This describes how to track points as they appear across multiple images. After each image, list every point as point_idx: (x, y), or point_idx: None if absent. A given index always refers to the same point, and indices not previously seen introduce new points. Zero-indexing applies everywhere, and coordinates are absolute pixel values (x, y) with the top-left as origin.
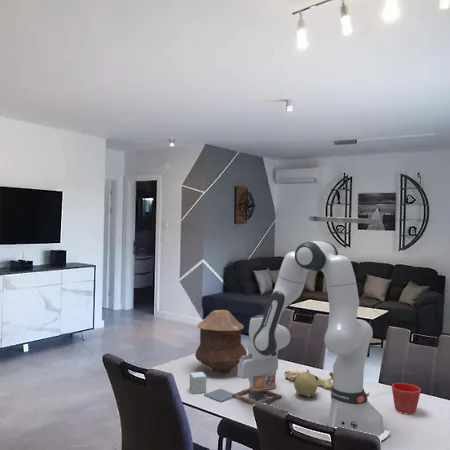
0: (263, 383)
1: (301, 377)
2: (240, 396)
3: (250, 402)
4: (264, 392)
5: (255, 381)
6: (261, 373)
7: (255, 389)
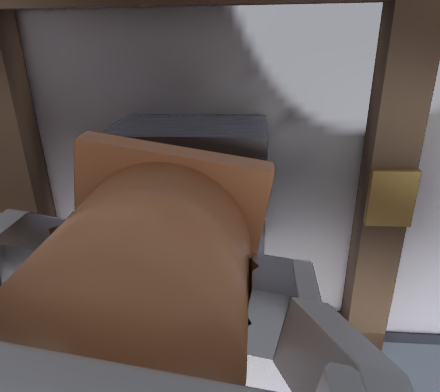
0: (54, 218)
1: None
2: (365, 286)
3: (421, 116)
4: (121, 132)
5: (244, 298)
6: (33, 378)
7: (265, 207)
